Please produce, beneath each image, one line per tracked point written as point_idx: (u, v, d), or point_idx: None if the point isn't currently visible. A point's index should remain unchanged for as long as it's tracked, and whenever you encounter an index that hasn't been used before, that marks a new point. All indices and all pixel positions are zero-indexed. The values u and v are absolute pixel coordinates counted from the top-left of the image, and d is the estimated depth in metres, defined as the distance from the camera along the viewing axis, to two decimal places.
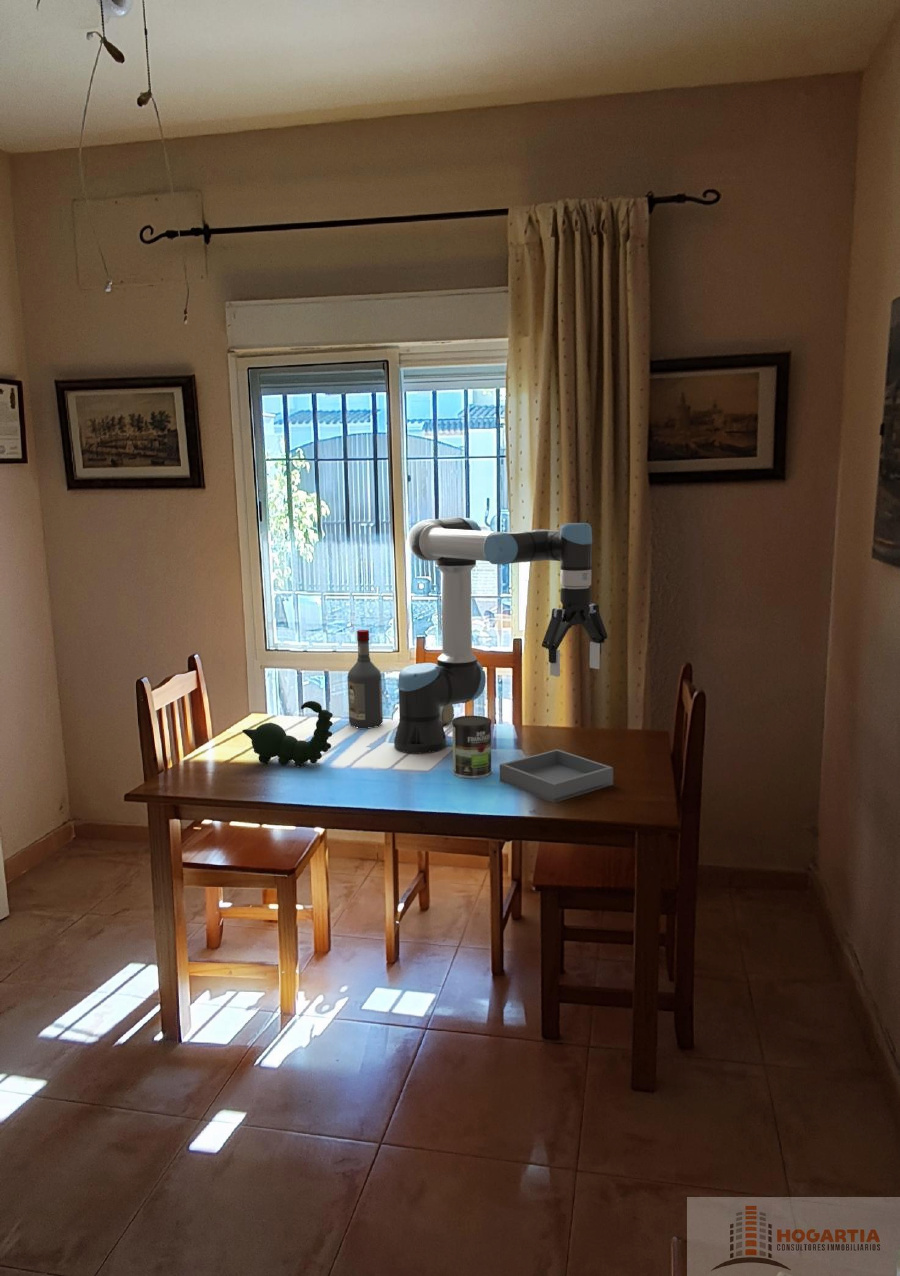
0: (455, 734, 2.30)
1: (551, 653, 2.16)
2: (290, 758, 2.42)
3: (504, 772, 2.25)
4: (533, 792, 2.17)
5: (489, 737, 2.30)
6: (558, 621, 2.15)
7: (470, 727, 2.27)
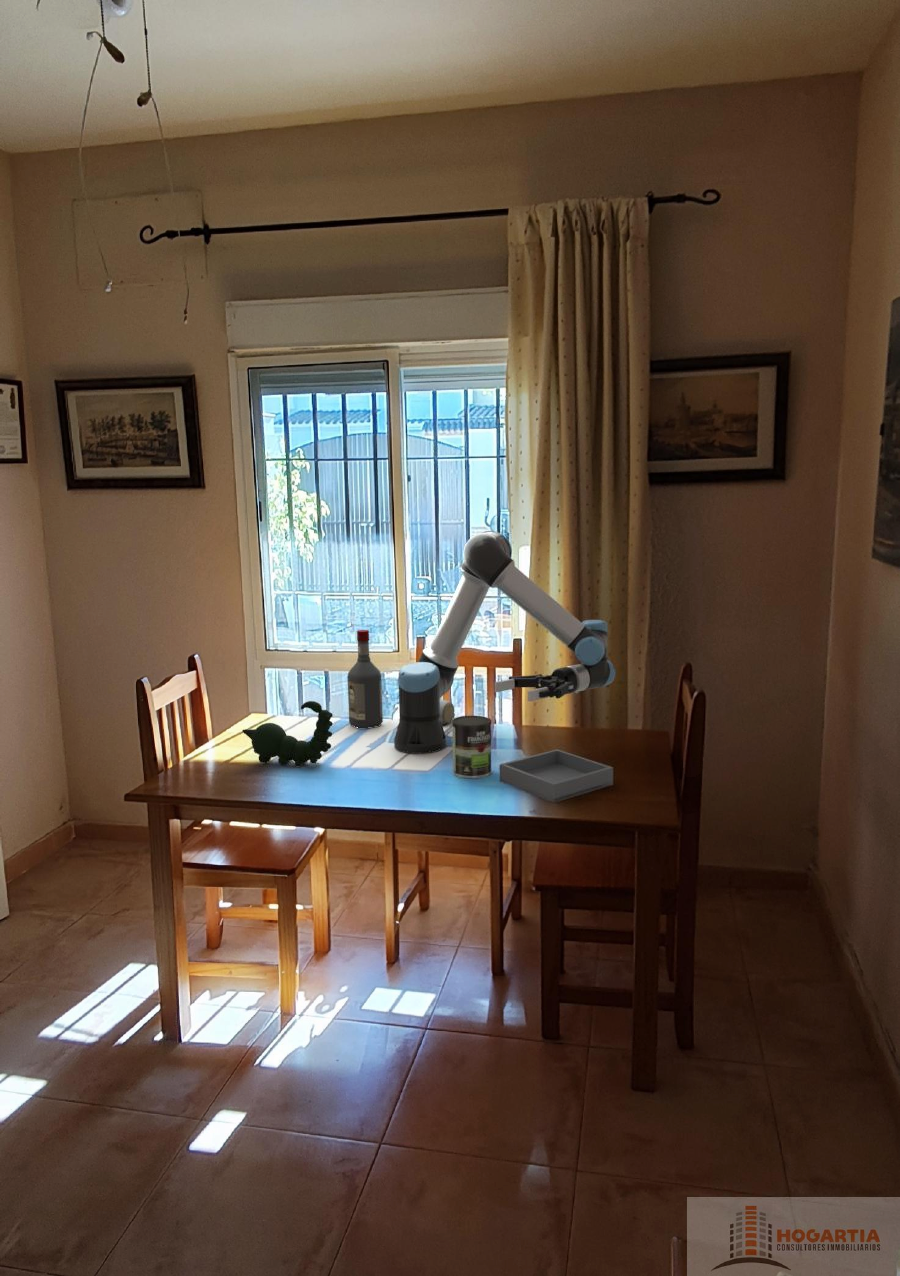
0: (455, 734, 2.30)
1: (548, 694, 2.36)
2: (290, 758, 2.42)
3: (504, 772, 2.25)
4: (533, 792, 2.17)
5: (489, 737, 2.30)
6: None
7: (470, 727, 2.27)
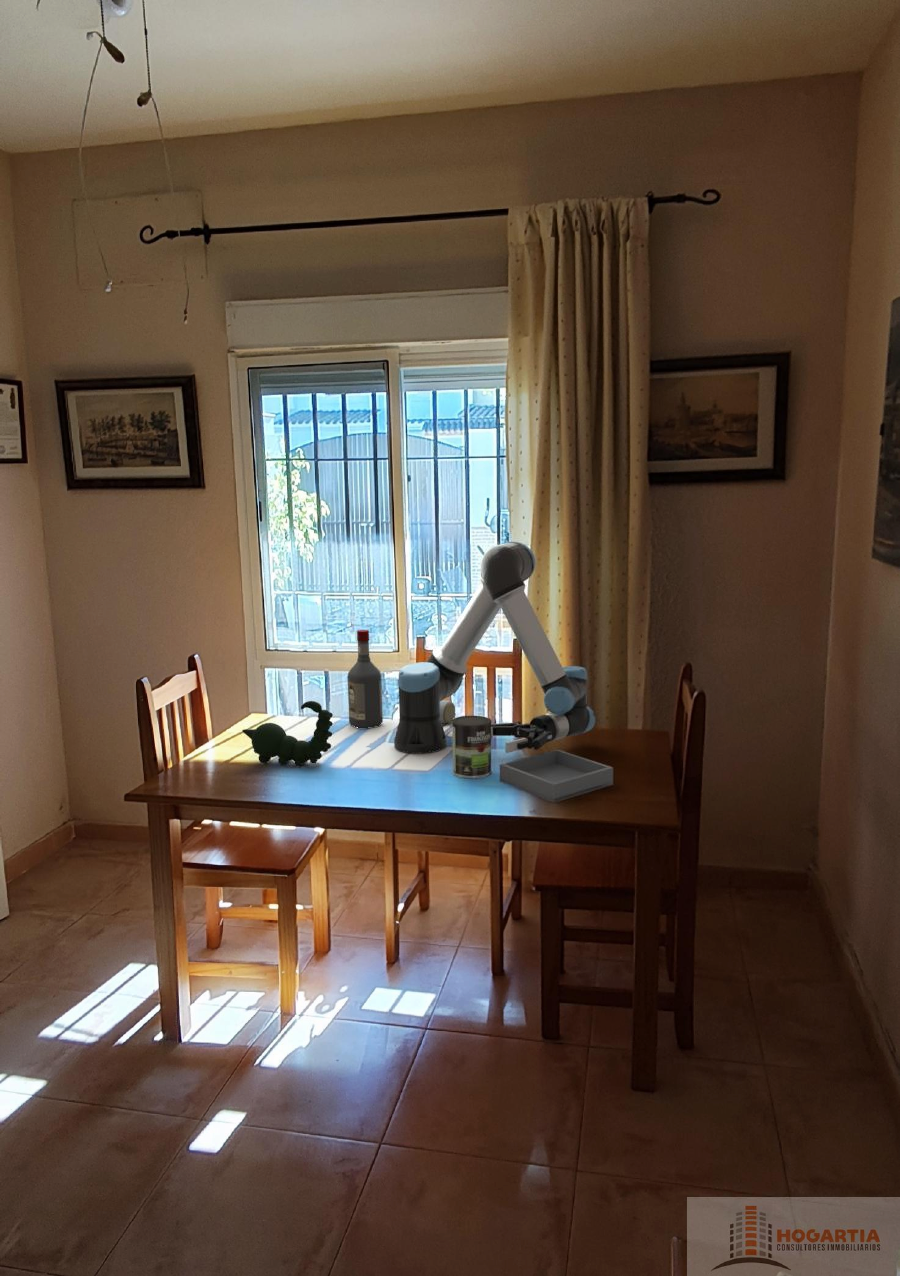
0: (455, 734, 2.30)
1: (527, 746, 2.32)
2: (290, 758, 2.42)
3: (504, 772, 2.25)
4: (533, 792, 2.17)
5: (489, 737, 2.30)
6: None
7: (470, 727, 2.27)
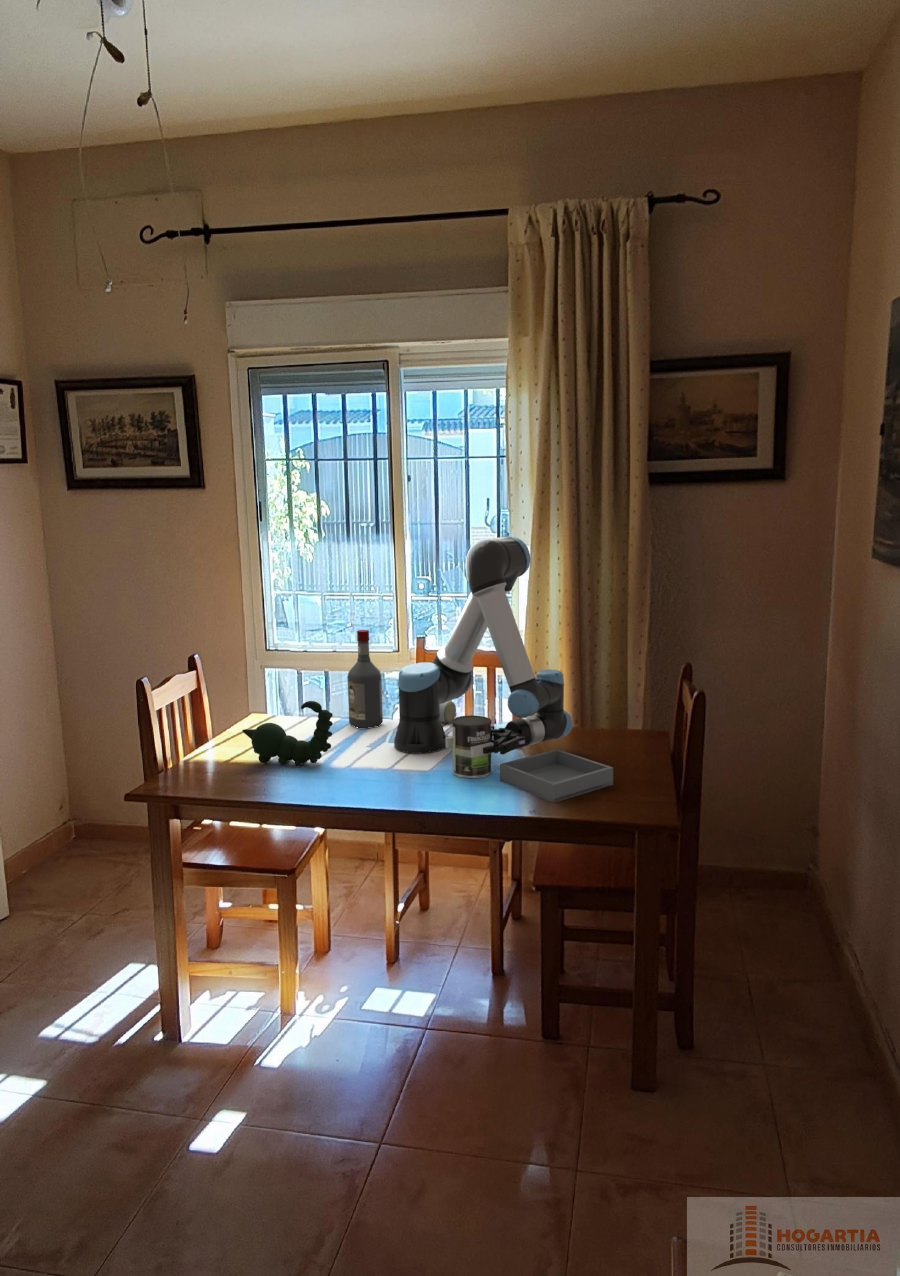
0: (455, 734, 2.30)
1: (493, 750, 2.28)
2: (290, 758, 2.42)
3: (504, 772, 2.25)
4: (533, 792, 2.17)
5: (489, 737, 2.30)
6: None
7: (470, 726, 2.27)
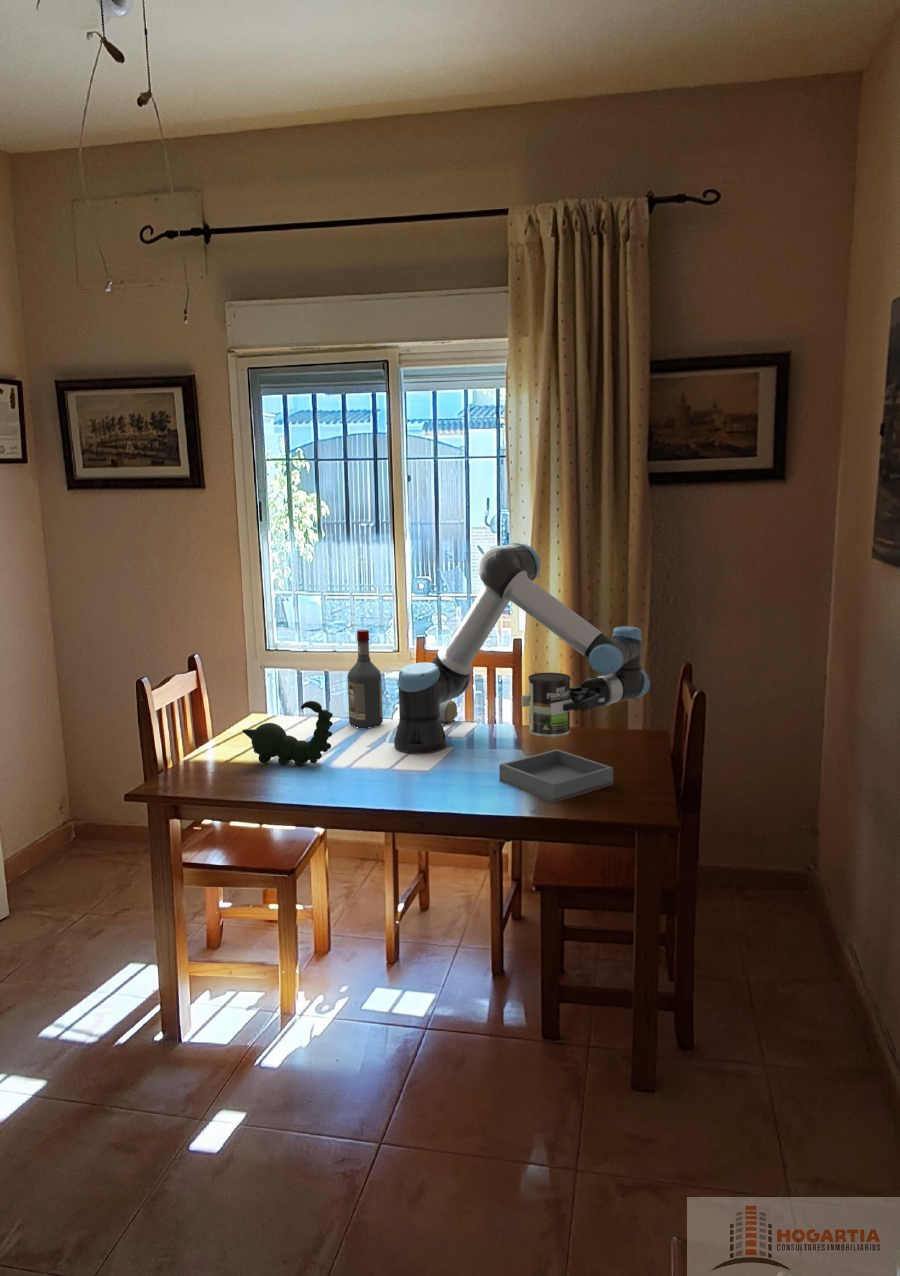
0: (533, 691, 2.19)
1: (573, 707, 2.17)
2: (290, 758, 2.42)
3: (504, 772, 2.25)
4: (533, 792, 2.17)
5: (568, 694, 2.19)
6: None
7: (550, 682, 2.16)
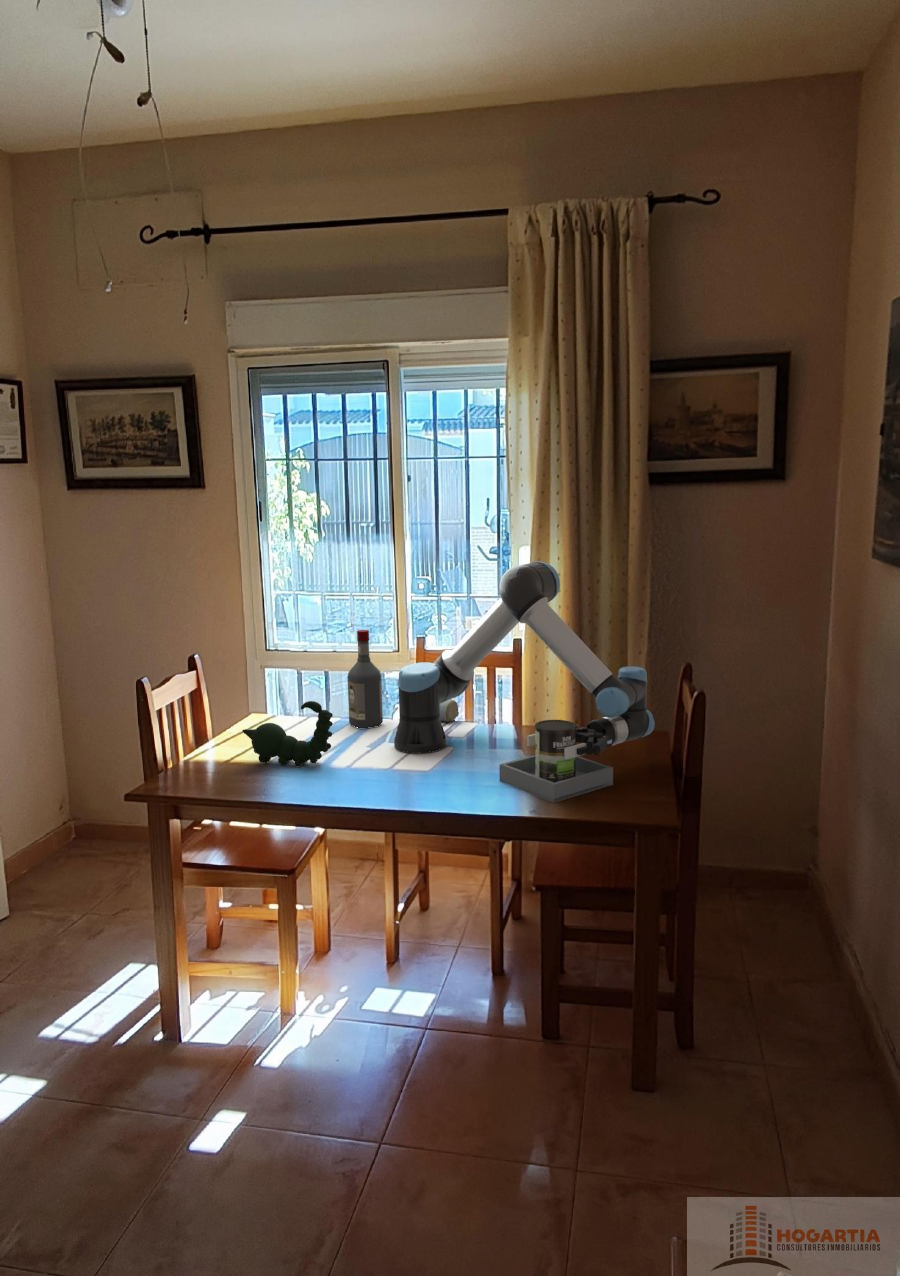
0: (539, 740, 2.20)
1: (586, 751, 2.18)
2: (290, 758, 2.42)
3: (504, 772, 2.25)
4: (533, 792, 2.17)
5: (574, 742, 2.21)
6: None
7: (556, 732, 2.17)
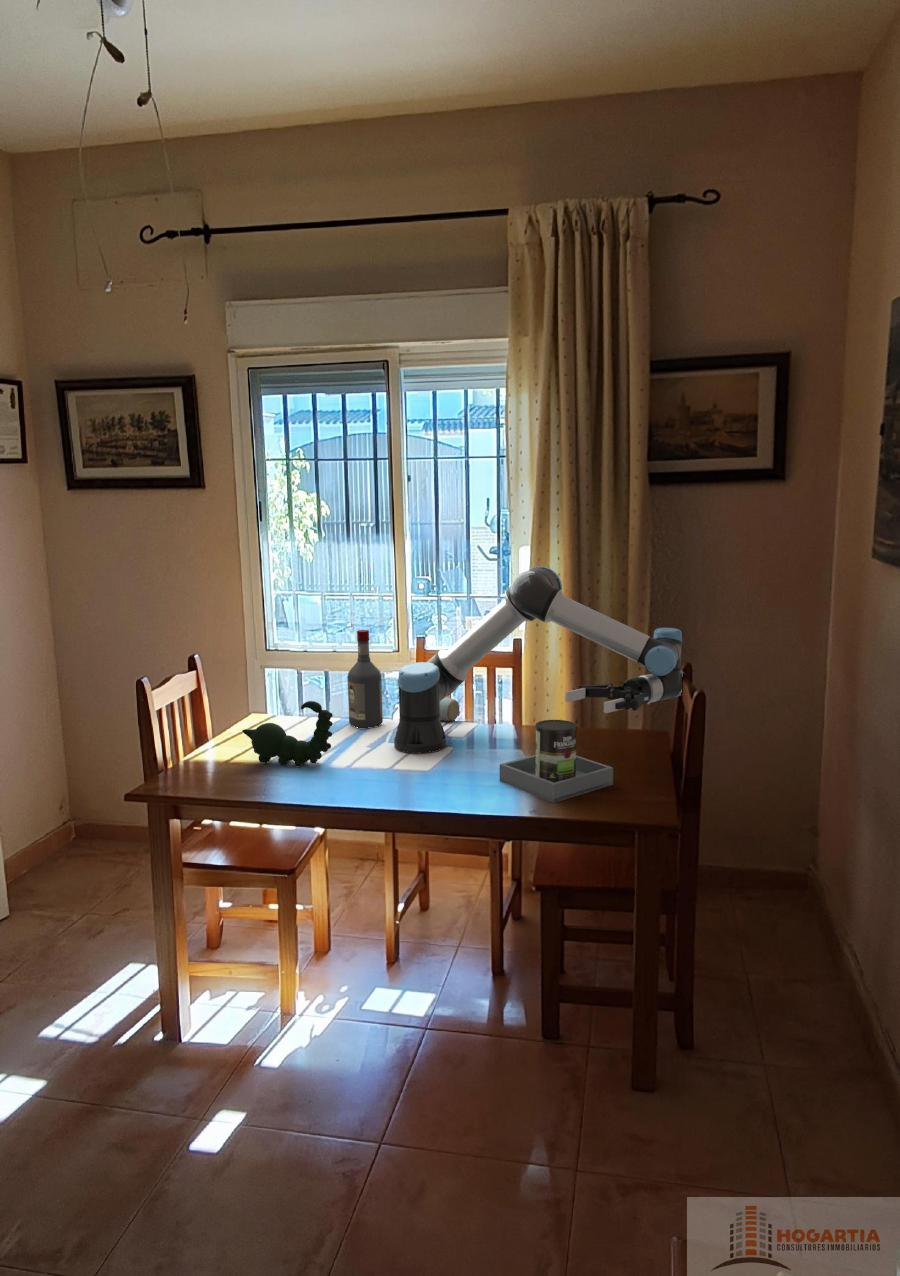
0: (540, 739, 2.20)
1: (625, 706, 2.24)
2: (290, 758, 2.42)
3: (504, 772, 2.25)
4: (533, 792, 2.17)
5: (575, 742, 2.21)
6: None
7: (557, 731, 2.17)
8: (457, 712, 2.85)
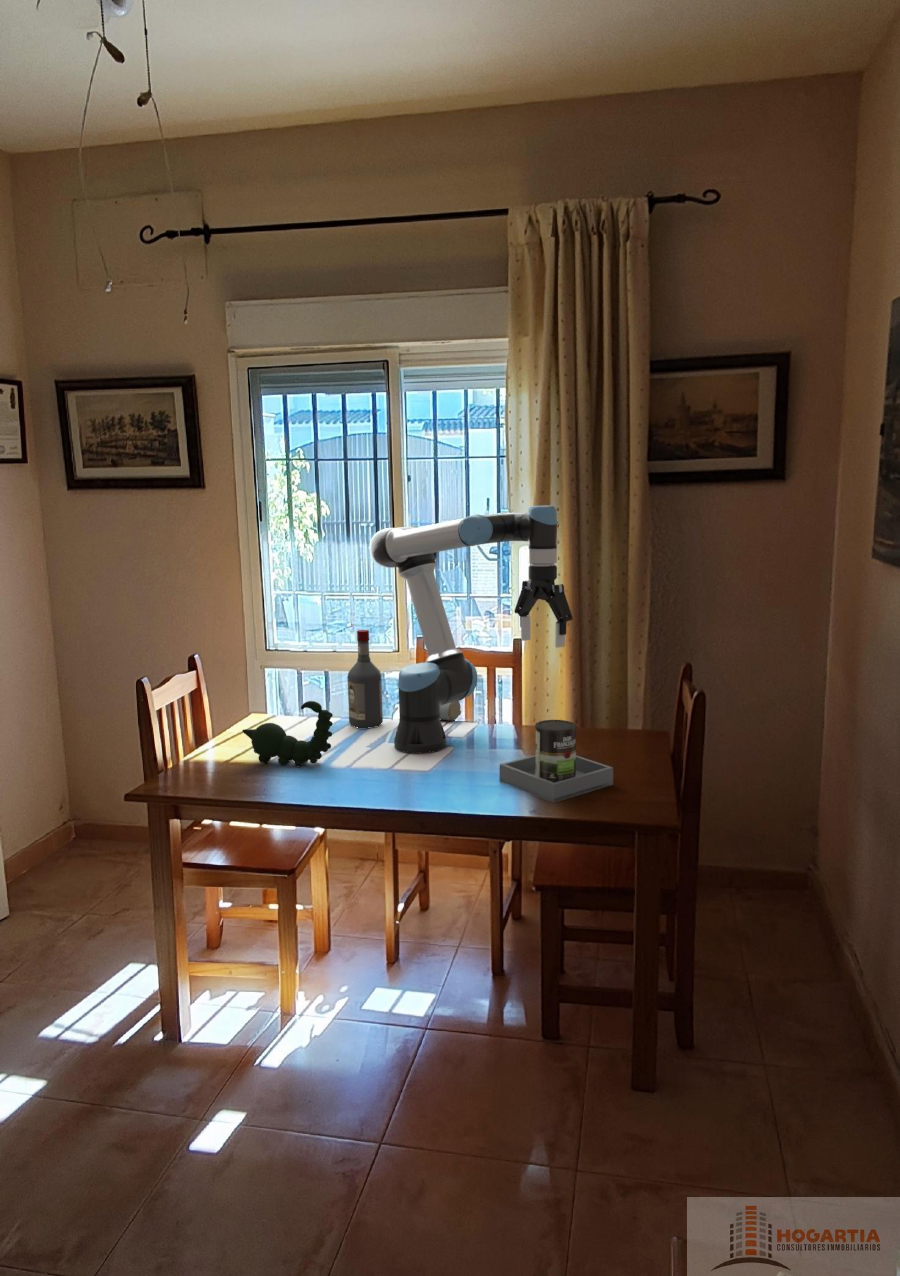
0: (540, 740, 2.20)
1: (565, 625, 2.33)
2: (290, 758, 2.42)
3: (504, 772, 2.25)
4: (533, 792, 2.17)
5: (575, 742, 2.21)
6: None
7: (557, 732, 2.17)
8: (458, 711, 2.86)
